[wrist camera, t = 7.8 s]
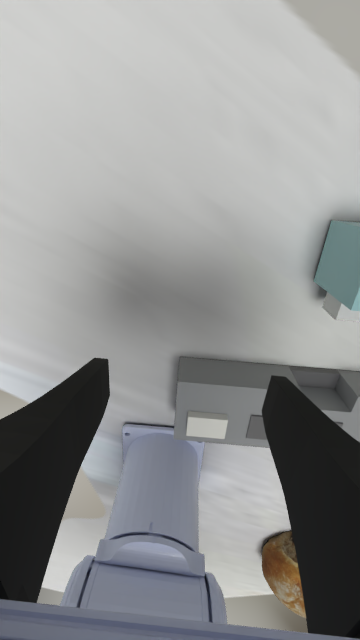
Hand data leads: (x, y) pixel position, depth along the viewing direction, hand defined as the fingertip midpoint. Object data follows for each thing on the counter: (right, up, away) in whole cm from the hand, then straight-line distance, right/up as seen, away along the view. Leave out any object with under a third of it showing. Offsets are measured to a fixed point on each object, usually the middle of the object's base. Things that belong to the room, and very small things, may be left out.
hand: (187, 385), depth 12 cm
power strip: (+14, -4, +11) cm, 18 cm away
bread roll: (+15, -26, +23) cm, 38 cm away
